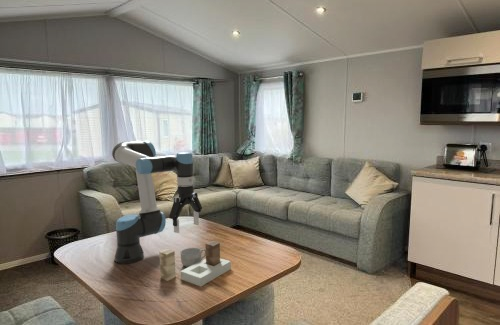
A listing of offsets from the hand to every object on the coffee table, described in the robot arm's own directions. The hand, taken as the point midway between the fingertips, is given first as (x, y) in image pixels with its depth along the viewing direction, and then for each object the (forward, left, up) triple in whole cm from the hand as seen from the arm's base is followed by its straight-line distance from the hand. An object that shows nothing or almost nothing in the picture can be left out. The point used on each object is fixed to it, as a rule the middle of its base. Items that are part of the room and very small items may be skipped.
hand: (186, 228), depth 162 cm
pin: (-6, -8, -23) cm, 25 cm away
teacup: (-5, +9, -23) cm, 26 cm away
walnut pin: (+7, +10, -23) cm, 26 cm away
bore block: (+7, +5, -23) cm, 25 cm away
